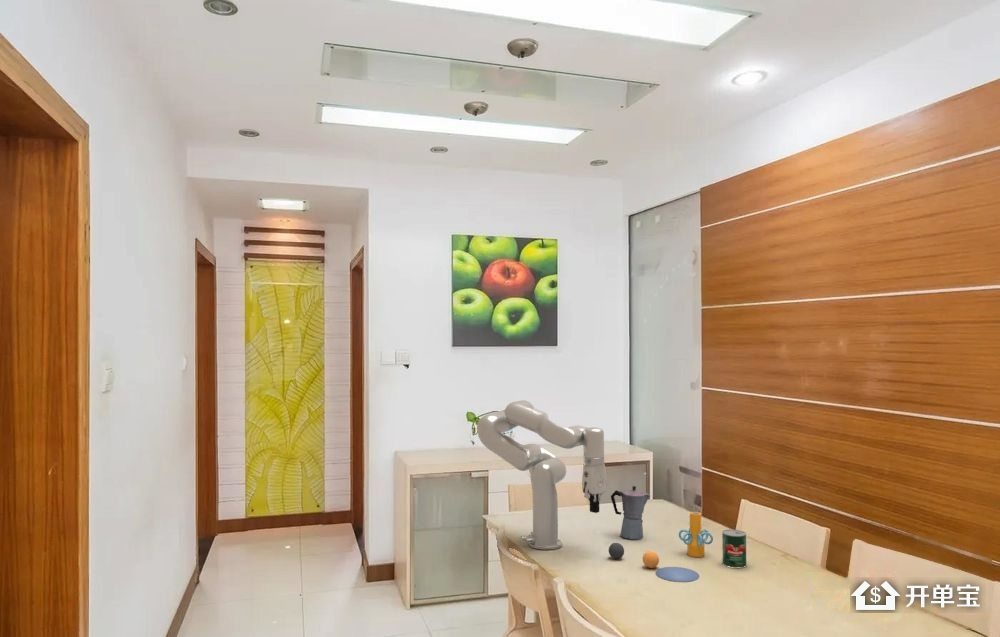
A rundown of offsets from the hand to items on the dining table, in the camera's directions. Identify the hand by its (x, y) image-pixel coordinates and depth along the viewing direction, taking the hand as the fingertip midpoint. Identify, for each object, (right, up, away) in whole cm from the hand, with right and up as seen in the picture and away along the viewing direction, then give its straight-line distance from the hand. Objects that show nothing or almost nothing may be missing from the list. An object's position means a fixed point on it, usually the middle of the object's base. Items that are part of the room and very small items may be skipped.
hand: (594, 511), depth 248 cm
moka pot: (+17, -16, +19) cm, 30 cm away
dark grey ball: (+7, -12, -7) cm, 15 cm away
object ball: (+17, -12, -17) cm, 26 cm away
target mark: (+24, -14, -24) cm, 37 cm away
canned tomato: (+47, -15, -14) cm, 51 cm away
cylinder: (+36, -15, -3) cm, 39 cm away
